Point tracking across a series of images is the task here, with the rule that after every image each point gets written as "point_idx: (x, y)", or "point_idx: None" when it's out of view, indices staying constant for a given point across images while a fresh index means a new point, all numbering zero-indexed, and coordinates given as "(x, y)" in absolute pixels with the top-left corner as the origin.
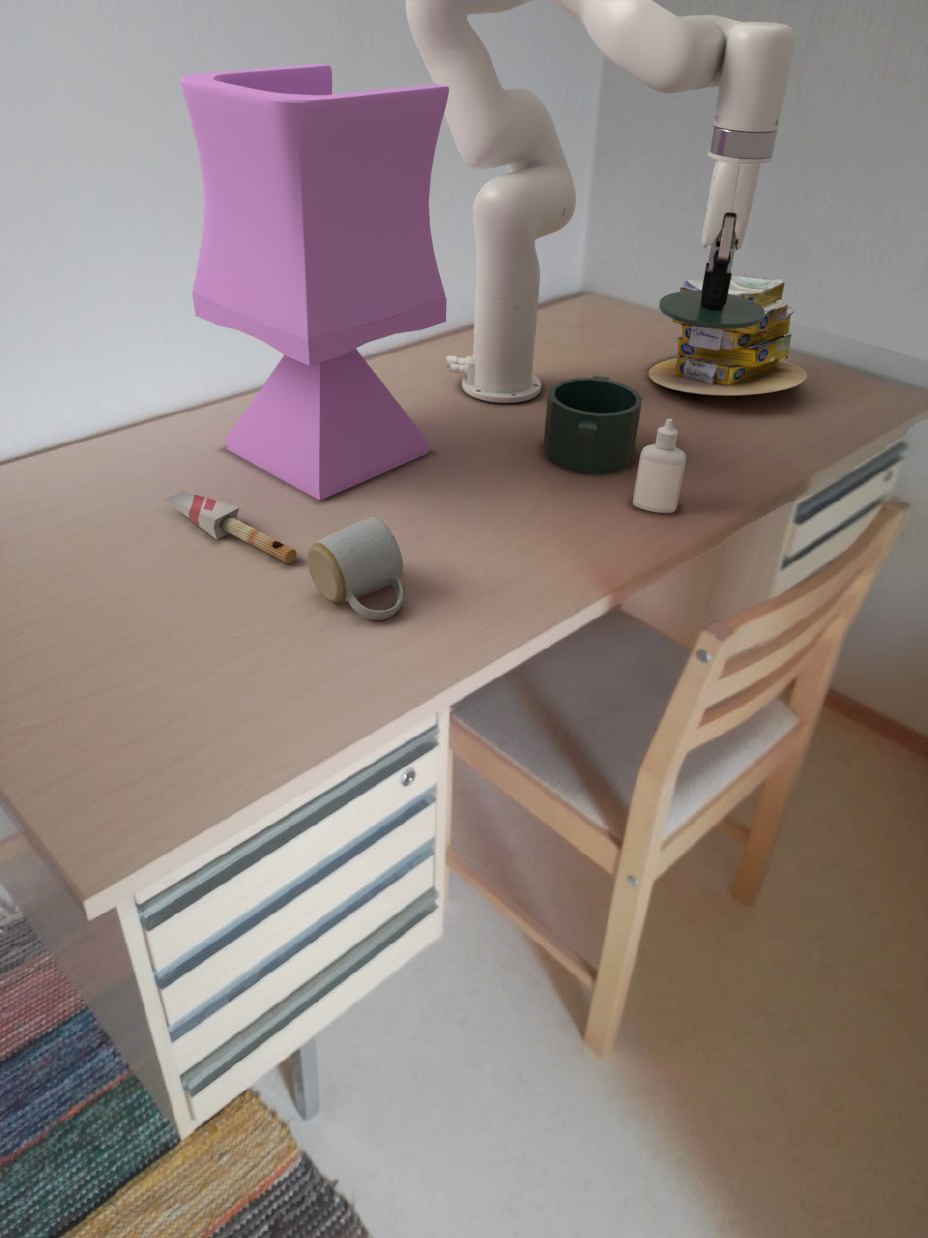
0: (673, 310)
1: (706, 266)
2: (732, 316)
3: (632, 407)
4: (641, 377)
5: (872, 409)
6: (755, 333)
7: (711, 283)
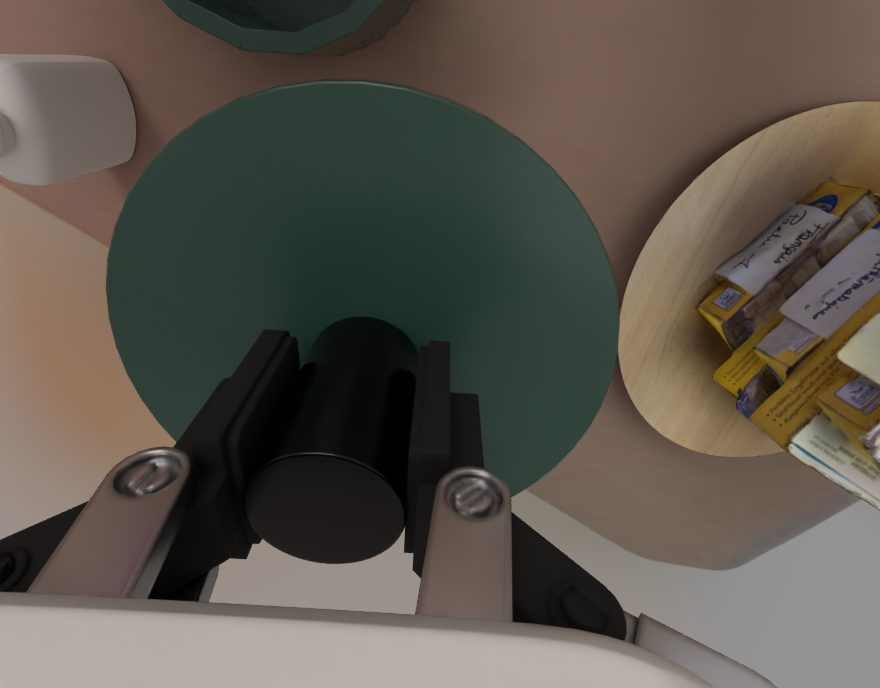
0: (216, 169)
1: (420, 438)
2: None
3: (208, 16)
4: (861, 79)
5: (641, 510)
6: (750, 419)
7: (188, 427)
